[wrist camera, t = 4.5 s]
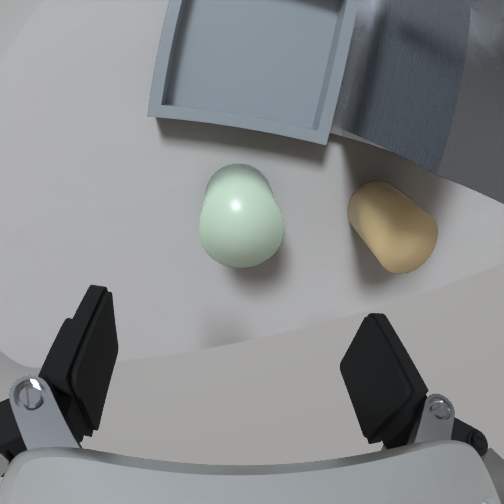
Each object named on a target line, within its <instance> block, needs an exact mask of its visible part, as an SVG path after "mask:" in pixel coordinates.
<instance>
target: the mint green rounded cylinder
mask: <svg viewBox="0 0 504 504" xmlns="http://www.w3.org/2000/svg"><path fill="white" fill-rule="evenodd" d="M283 236H284V221H283V217H282V215H281V212H280V210H279V207H278V205H277V202H276V200H275V197H274V195H273V192H272V190H271V187H270V185H269V183H268V180H267V179H266V177H265V176H264V175H263V174H262V173H261V172H260V171H259V170H257V169H256V168H254V167H252V166H249V165H245V164H232V165H228V166H225V167H223V168H221V169H220V170H218V171H217V172H216V173H215V174H214V175H213V176H212V177H211V179H210V180H209V182H208V185H207V188H206V192H205V197H204V202H203V207H202V212H201V217H200V222H199V238H200V242H201V244H202V246H203V248H204V250H205V251H206V252H207V254H208V255H209V256H210V257H211V258H213V259H214V260H215V261H217V262H219V263H221V264H223V265H226V266H229V267H234V268H247V267H252V266H256V265H258V264H261V263H263V262H264V261H266V260H267V259H269V258H270V257H271V256H272V255H273V254H274V253H275V252H276V251H277V250H278V248H279V246H280V244H281V242H282V240H283Z"/></svg>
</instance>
